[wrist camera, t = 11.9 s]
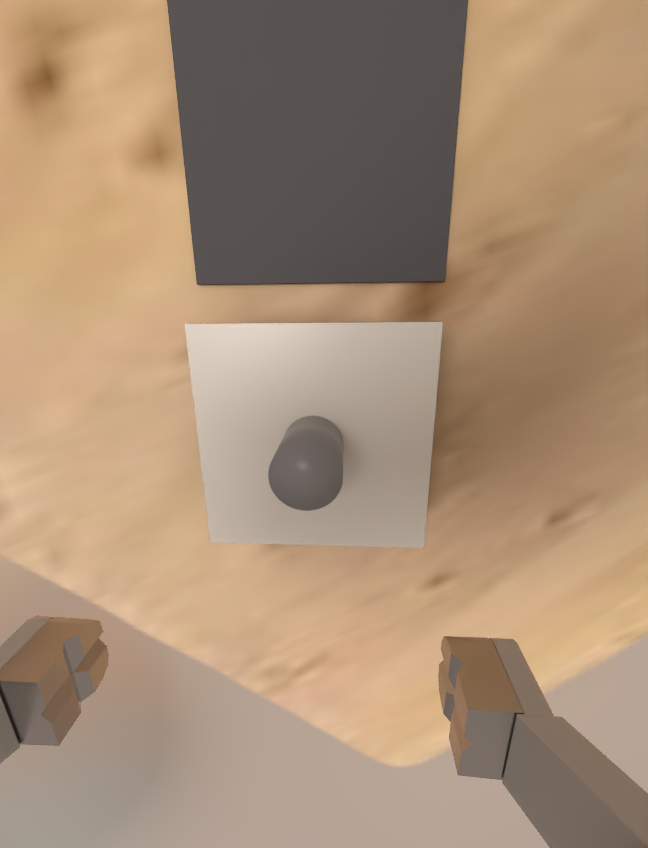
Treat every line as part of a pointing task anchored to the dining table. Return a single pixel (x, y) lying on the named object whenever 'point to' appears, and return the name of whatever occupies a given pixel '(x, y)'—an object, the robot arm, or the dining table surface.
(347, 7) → the mat
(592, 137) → the dining table surface
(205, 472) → the cover board
